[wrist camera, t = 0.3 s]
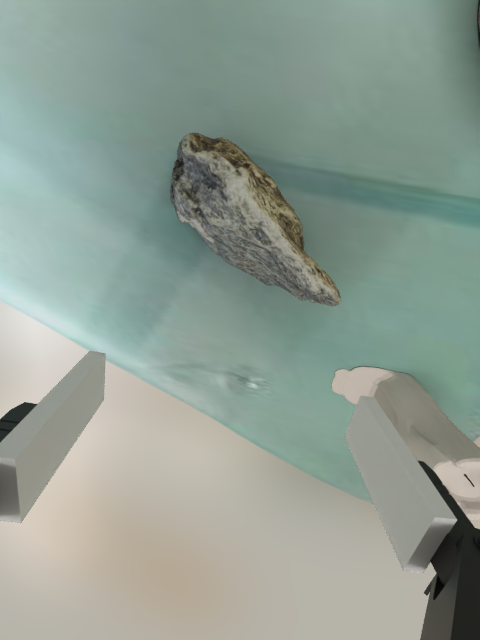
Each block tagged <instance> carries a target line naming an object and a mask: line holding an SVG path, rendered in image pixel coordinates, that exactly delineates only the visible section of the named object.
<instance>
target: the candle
mask: <svg viewBox="0 0 480 640" xmlns="http://www.w3.org/2000/svg"><path fill="white" fill-rule="evenodd" d="M332 390H333V391H334V392H335V393H338V394H341V395H344V397H345V398H346V399H347V400H348V401H350V402H351V403H353V404H355V405H357V403H358V400H359V398H360V395H362V396H368V397H374V398H375V399H376V401H377V402H378V404H379V405H380V407H381V408H382V409H383V411H384V412H385V414H386V415H387V417H388V418H389V420H390V421H391V423H392V424H393V426H394V427H395V429H396V430H397V432H398V433H399V435H400V436H401V438H402V439H403V440H404V442H405V443H406V445H407V446H408V448H409V449H410V451H411V452H412V454H413V455H414V457H415V458H416V460H417V461H424V462H425V463H426V464H427V465H428V466H429V467H430V468H431V469H432V470H433V471H434V472H435V473H436V474H437V476H438V477H439V478H440V480H441V481H442V483H443V485H445V487H446V488H447V490H448V491H449V494H451V495H452V497H453V498H454V499H455V501H456V502H457V504H458V505H459V506H460V508H461V509H462V511H463V512H464V513H465V515H466V516H467V518H468V519H469V520H479V519H480V448H479V447H478V446H477V445H476V444H475V443H474V442H472V441H471V440H470V439H469V438H468V437H467V436H466V435H465V434H464V433H462V432H461V431H460V430H459V429H458V428H457V427H456V426H455V425H454V424H453V423H452V422H451V420H450V419H449V418H448V417H447V416H446V415H445V414H444V412H443V411H442V410H441V408H440V407H439V406H438V404H437V403H436V402H435V401H434V399H433V398H432V397H431V396H430V395H429V394H428V393H427V391H426V390H425V389H424V388H423V387H422V386H421V385H420V384H419V383H418V382H417V381H416V380H415V379H414V378H413V377H412V376H410V375H408V374H405V373H400V372H394V371H390V370H386V369H381V368H377V367H365V366H361V367H356V368H354V369H352V370H350V371H349V370H346V369H340V370H337V371H336V372H335V377H334V379H333V382H332Z"/></svg>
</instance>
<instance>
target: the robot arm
mask: <svg viewBox="0 0 480 640" xmlns="http://www.w3.org/2000/svg"><path fill="white" fill-rule="evenodd" d="M105 355H106V353H100V352H94V351H89V352H88V353H87V354H86V355H85V356H84V357H83V358H82V359H81V360H80V361H79V362H78V363H77V364H76V365H75V366H74V368H73V369H72V370H71V371H70V372H69V373H68V374H67V375H66V376H65V377H64V378H63V379H62V380H61V381H60V382H59V383H58V384H57V385H56V386H55V387H54V388H53V389H52V390H51V391H50V392H49V393H48V394H47V395H46V396H45V397H44V398H43V399H42V400H41V401H40V402H39V403H38V404H33V403H26V402H24V403H23V404H21V405H19V406H17V407H15V408H13V409H11V410H10V411H9V412H8V413H7V414H5V415H4V416H3V417H2V418H1V419H0V521H9V522H16V523H22V521H23V519H24V518H25V516H26V515H27V513H28V512H29V510H30V509H31V507H32V506H33V505H34V503H35V502H36V500H37V499H38V497H39V496H40V494H41V493H42V491H43V490H44V488H45V487H46V485H47V484H48V482H49V481H50V479H51V477H52V476H53V475H54V473H55V472H56V470H57V469H58V467H59V466H60V464H61V463H62V461H63V460H64V458H65V457H66V455H67V454H68V452H69V451H70V449H71V448H72V446H73V445H74V443H75V442H76V440H77V439H78V437H79V436H80V434H81V433H82V431H83V430H84V428H85V427H86V425H87V424H88V422H89V421H90V419H91V418H92V417H93V415H94V414H95V412H96V411H97V409H98V408H99V406H100V405H101V403H102V401H103V400H104V382H105ZM344 437H345V439H346V442H347V444H348V446H349V449H350V451H351V453H352V455H353V458H354V460H355V462H356V464H357V467H358V469H359V471H360V474H361V476H362V478H363V480H364V483H365V485H366V487H367V489H368V492H369V494H370V496H371V499H372V501H373V503H374V505H375V508H376V510H377V512H378V514H379V517H380V519H381V521H382V523H383V526H384V528H385V530H386V533H387V535H388V537H389V539H390V542H391V544H392V546H393V549H394V551H395V553H396V555H397V558H398V560H399V562H400V564H401V567H402V569H403V570H405V571H413V572H422V573H423V572H424V571H425V569H426V568H427V566H428V564H429V563H430V562H431V563H432V565H433V567H434V569H435V571H436V572H437V574H436V575H435V577H434V578H433V580H432V581H431V582H430V584H429V585H428V587H427V589H426V590H425V592H424V593H425V594H426V595H428V594H429V592H430V595H429V600H428V605H427V610H426V614H425V619H424V624H423V629H422V634H421V639H420V640H480V529H477V528H475V527H474V526H473V525H472V523H471V522H470V520H469V519H468V518H467V516H466V515H465V513H464V512H463V511H462V509H461V508H460V506H459V505H458V504H457V502H456V501H455V499H454V498H453V497H452V495H451V494H449V491H448V490H447V488H446V487H445V485H443V483H442V481H441V480H440V478H439V477H438V476H437V474H436V473H435V472H434V471H433V470H432V469H431V468H430V467H429V466H428V465H427V464H426V463H425V462H424V461H417V460H416V458H415V457H414V455H413V454H412V452H411V451H410V449H409V448H408V446H407V445H406V443H405V442H404V440H403V439H402V438H401V436H400V435H399V433H398V432H397V430H396V429H395V427H394V426H393V424H392V423H391V421H390V420H389V418H388V417H387V415H386V414H385V412H384V411H383V409H382V408H381V407H380V405H379V404H378V402H377V401H376V399H375V398H374V397H368V396H362V395H360V398H359V400H358V403H357V405H356V408H355V410H354V413H353V416H352V418H351V421H350V423H349V426H348V428H347V431H346V433H345V436H344Z"/></svg>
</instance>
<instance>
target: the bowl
mask: <svg viewBox="0 0 480 640" xmlns="http://www.w3.org/2000/svg"><path fill="white" fill-rule="evenodd" d="M478 23H479V31H480V5H479V15H478Z"/></svg>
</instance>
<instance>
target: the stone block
mask: <svg viewBox="0 0 480 640" xmlns="http://www.w3.org/2000/svg"><path fill="white" fill-rule="evenodd" d="M177 152H178V159H177V160H176V162H175V165H174V169H173V174H172V180H171V188H170V193H171V196H170V198H171V202H172V203H173V205H174V207H175V210H176V213H177V217H178V219H179V220H180V221H181V222H182V223H185V222H187V223H189V224H190V225H191V226H192V227H193V228H195V229H196V230H197V231H198V233H199V234H200V236H201V237H202V239H203V241H204V242H205V243H206V244H207V245H208V246H209V247H210V248H211V249H212V250H213V251H214V252H215V253H216V254H218V255H219V256H220V257H221V258H222V259H223V260H225V261H226V262H227V263H229V264H231V265H233V266H235V267H237V268H239V269H241V270H242V271H244V272H246V273H249V274H250V275H252V276H254V277H256V278H257V279H258V280H260V281H261V282H263V283H265V284H266V285H277V286H279V287H282V288H284V289H285V290H287V291H289V292H290V293H291V294H292V295H294V296H295V297H296V298H298V299H300V300H309V301H310V302H311V303H315V302H318V303H320V304H325V305H329V306H335V305H338V304H340V301H341V297H340V294H339V291H338V289H337V287H336V285H335V283H334V282H333V281H332V279H331V278H330V277H329V275H328V274H327V273H326V272H325V271H323V270H321V269H320V267H319V266H318V265H317V263H316V262H314V261H313V260H312V259H311V258H310V257H309V256H308V255H307V254H306V253H305V252H304V251H303V249H304V239H303V235H302V224H301V222H300V220H299V219H298V217H297V215H296V213H295V212H294V210H293V208H292V207H291V206H290V205H289V204H288V203H287V202H286V200H285V199H284V198H283V196H282V194H281V193H280V191H279V189H278V187H277V185H276V184H275V182H274V181H273V179H272V178H271V177H270V176H268V175H267V174H266V173H265V172H264V171H263V170H262V169H261V168H260V167H258V166H257V165H256V164H255V163H254V162H253V161H252V160H251V159H250V158H249V156H248V155H247V154H246V153H245V152H244V151H242V150H241V149H240V148H239V147H238V146H237V145H235V144H234V143H232V142H231V141H229V140H227V139H223V138H222V137H221V138H217V139H211V138H208V137H205V136H204V135H201V134H198V133H190V134H187V135H185V136H184V138H183V139H182V140H181V142H180V143H179V147H178V151H177Z"/></svg>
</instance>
